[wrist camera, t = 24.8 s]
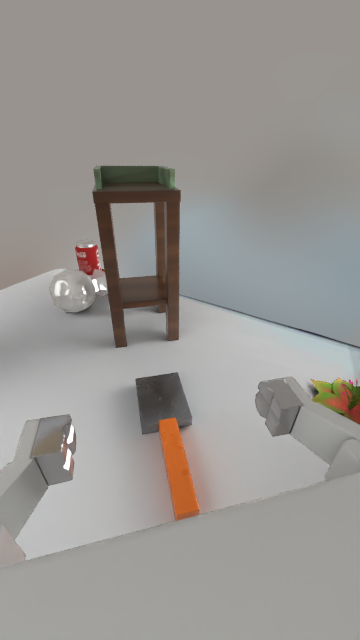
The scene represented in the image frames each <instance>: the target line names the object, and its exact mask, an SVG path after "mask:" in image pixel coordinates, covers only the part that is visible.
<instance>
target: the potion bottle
mask: <svg viewBox="0 0 360 640" xmlns="http://www.w3.org/2000/svg"><path fill="white" fill-rule="evenodd" d="M49 291H50V294H51V297H52V300H53V303H54V304H55V305H57V306H58V307H59V308H61V309H62V310H64V311H65V312H81V311H83V310H85V309H86V308H88V307H89V306H91V305H92V303H93V302H94V300H95V294H96V293H98V294H99V295H101V296H102V297H103V296H105V295H106V294H108V290H107V283H106V276H105V270H104V269H102V271H100V270H97V269H94V272H93V275H92V276H88V275H87V274H86V273H84V272H83V271H82V270H73V269H66V270H64V271H62V272H61V273H59V274H57V275H55V276H54V278H53V281H52V283H51V286H50V288H49Z"/></svg>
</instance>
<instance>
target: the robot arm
mask: <svg viewBox="0 0 360 640" xmlns="http://www.w3.org/2000/svg"><path fill="white" fill-rule="evenodd" d="M258 389H259V390H260V391H259V392H258V393H257V394H256V398H255V403H256V408H257V410H258V412H259V414H260V416H262V417H264V418H265V419H266V421H265V424H266V426H267V428H268V429H269V431H270V433H271V435H272V436H273V437H274V436H280V435H285V434H290V433H291V434H290V435H292V436H293V437H294V438H295V439H297V440H298V441H299V442H301V443H302V444H303V445H305V446H306V447H307V448H308V449H310V450H311V451H312V452H314V453H315V454H316V455H318V456H319V457H320V458H321V459H323V460H324V461H325V462H327V463H328V464H329V465H330V467H329V468H328V470H327V472H326V474H325V478H326V479H327V481H325V482H321V483H317V484H313V485H310V486H306V487H302V488H298V489H294V490H291V491H287V492H283V493H279V494H276V495H272V496H268V497H264V498H260V499H257V500H253V501H249V502H245V503H242V504H238V505H234V506H230V507H226V508H223V509H219V510H215V511H211V512H207V513H204V514H200V515H196V516H192V517H189V518H185V519H181V520H177V521H173V522H170V523H166V524H162V525H158V526H155V527H151V528H147V529H143V530H139V531H136V532H132V533H128V534H124V535H121V536H117V537H113V538H109V539H106V540H102V541H98V542H94V543H90V544H87V545H83V546H79V547H75V548H72V549H68V550H64V551H60V552H57V553H53V554H49V555H45V556H41V557H38V558H34V559H30V560H26V561H25V557H26V555H25V553H24V552H23V551H22V549H21V548H20V547H19V546H18V544H17V543H16V542H15V539H16V537H17V536H18V534H19V532H20V531H21V529H22V528H23V526H24V525H25V523H26V522H27V520H28V518H29V517H30V515H31V514H32V512H33V511H34V509H35V508H36V506H37V504H38V503H39V501H40V500H41V498H42V497H43V495H44V493H45V492H46V490H47V489H48V486H50V485H54V484H58V483H62V482H66V481H70V480H72V479H73V470H74V460H73V457H72V455H73V454H74V453H75V451H76V434H75V429H74V427H73V426H71V421H72V419H71V417H70V415H69V414H68V415H61V416H54V417H47V418H41V419H34V420H28V421H26V423H25V424H24V427H23V430H22V434H21V437H20V440H19V443H18V447H17V450H16V453H15V457H14V460H13V462H11V463H8V464H7V465H6V466H5V467H4V468H3V469H2V470H1V471H0V640H360V425H359V424H357V423H355V422H353V421H351V420H350V419H348V418H346V417H344V416H342V415H340V414H338V413H336V412H334V411H332V410H331V409H329V408H327V407H325V406H323V405H321V404H319V403H314V402H313V400H312V399H311V398H310V397H309V396H308V394H307V393H306V392H305V391H304V390H303V388H302V387H301V386H300V385H299V384H298V382H297V381H296V380H295V379H294V378H293V377H285V378H278V379H273V380H267V381H262V382H260V383H259V385H258Z"/></svg>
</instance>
